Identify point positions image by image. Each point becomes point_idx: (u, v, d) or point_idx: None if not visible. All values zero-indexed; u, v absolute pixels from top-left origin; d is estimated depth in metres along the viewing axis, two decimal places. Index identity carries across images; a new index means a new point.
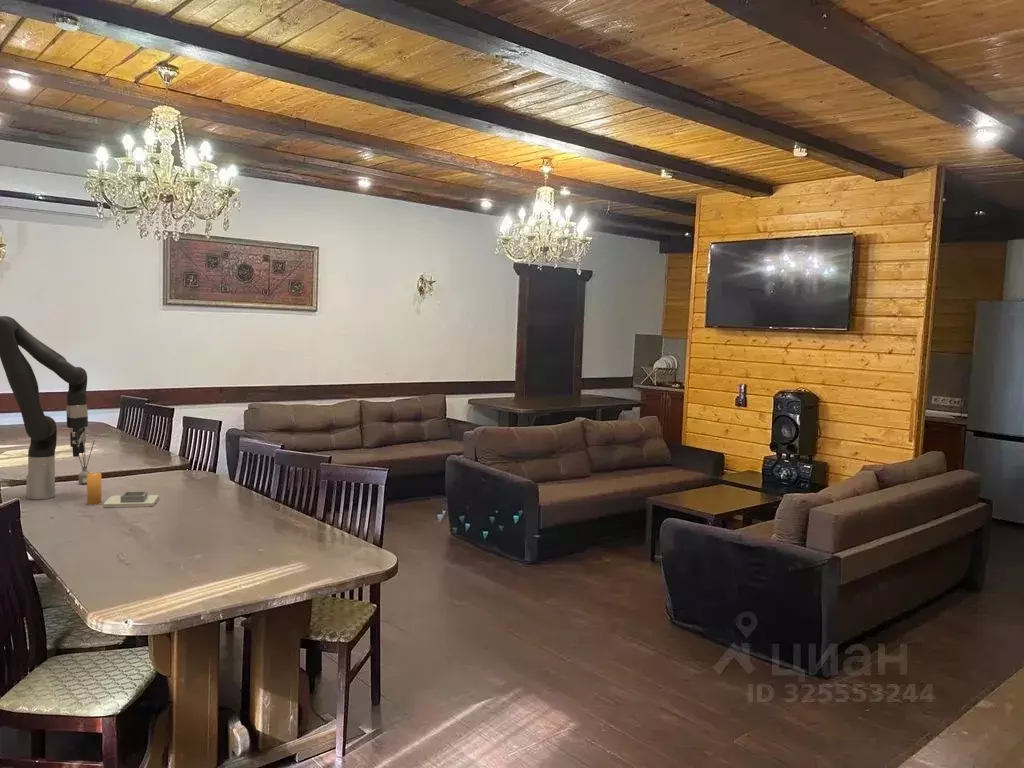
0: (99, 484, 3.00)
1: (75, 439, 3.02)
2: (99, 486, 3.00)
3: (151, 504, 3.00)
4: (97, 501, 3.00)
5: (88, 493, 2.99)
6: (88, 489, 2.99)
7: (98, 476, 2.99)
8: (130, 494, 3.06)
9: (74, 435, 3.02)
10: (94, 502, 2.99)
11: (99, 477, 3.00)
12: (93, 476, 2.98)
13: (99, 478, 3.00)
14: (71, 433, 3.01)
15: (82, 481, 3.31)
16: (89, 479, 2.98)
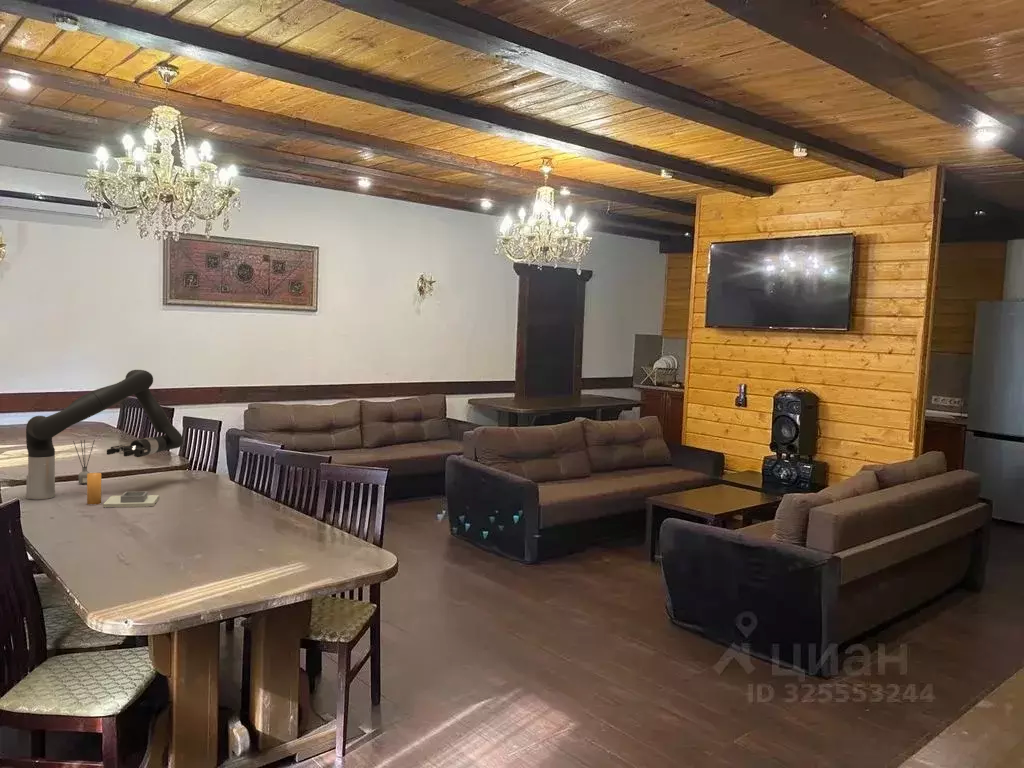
0: (99, 484, 3.00)
1: (143, 453, 3.16)
2: (99, 486, 3.00)
3: (151, 504, 3.00)
4: (97, 501, 3.00)
5: (88, 493, 2.99)
6: (88, 489, 2.99)
7: (98, 476, 2.99)
8: (130, 494, 3.06)
9: (145, 451, 3.18)
10: (94, 502, 2.99)
11: (99, 477, 3.00)
12: (93, 476, 2.98)
13: (99, 478, 3.00)
14: (146, 448, 3.18)
15: (82, 481, 3.31)
16: (89, 479, 2.98)
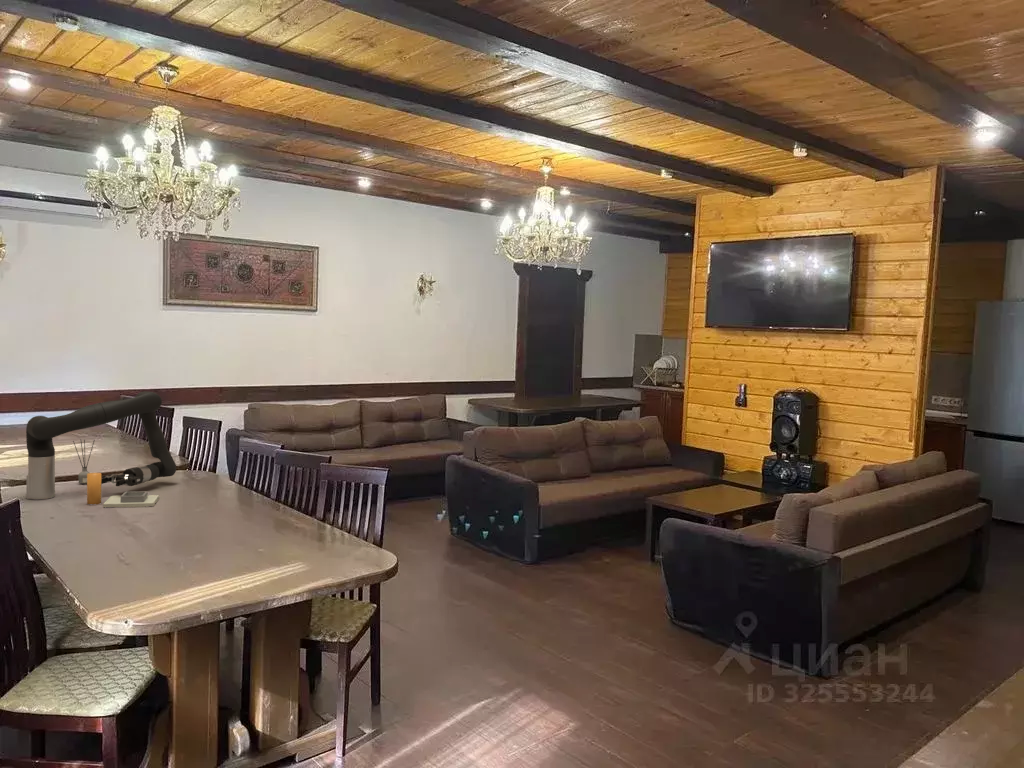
0: (99, 484, 3.00)
1: (135, 482, 3.13)
2: (99, 486, 3.00)
3: (151, 504, 3.00)
4: (97, 501, 3.00)
5: (88, 493, 2.99)
6: (88, 489, 2.99)
7: (98, 476, 2.99)
8: (130, 494, 3.06)
9: (138, 480, 3.15)
10: (94, 502, 2.99)
11: (99, 477, 3.00)
12: (93, 476, 2.98)
13: (99, 478, 3.00)
14: (139, 478, 3.15)
15: (82, 481, 3.31)
16: (89, 479, 2.98)
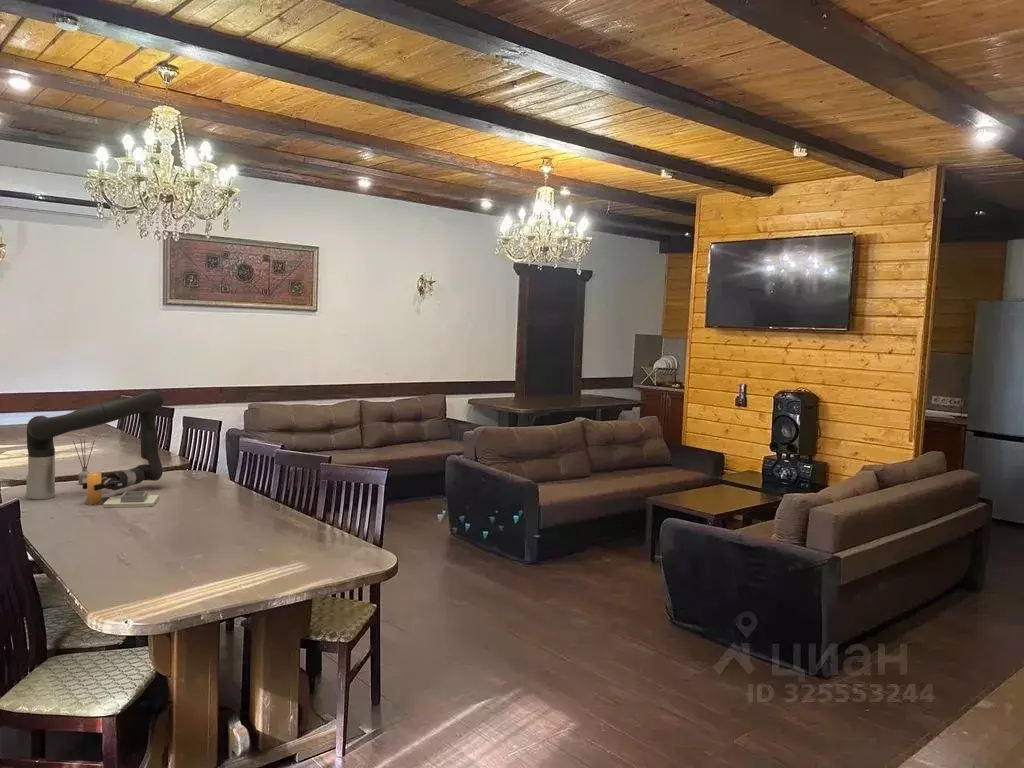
0: None
1: (115, 486, 3.04)
2: None
3: (151, 504, 3.00)
4: (97, 501, 3.00)
5: (88, 493, 2.99)
6: (88, 489, 2.99)
7: (98, 476, 2.99)
8: (130, 494, 3.06)
9: (119, 485, 3.05)
10: (94, 502, 2.99)
11: (99, 477, 3.00)
12: (93, 476, 2.98)
13: (99, 478, 3.00)
14: (121, 482, 3.06)
15: (82, 481, 3.31)
16: (89, 479, 2.98)
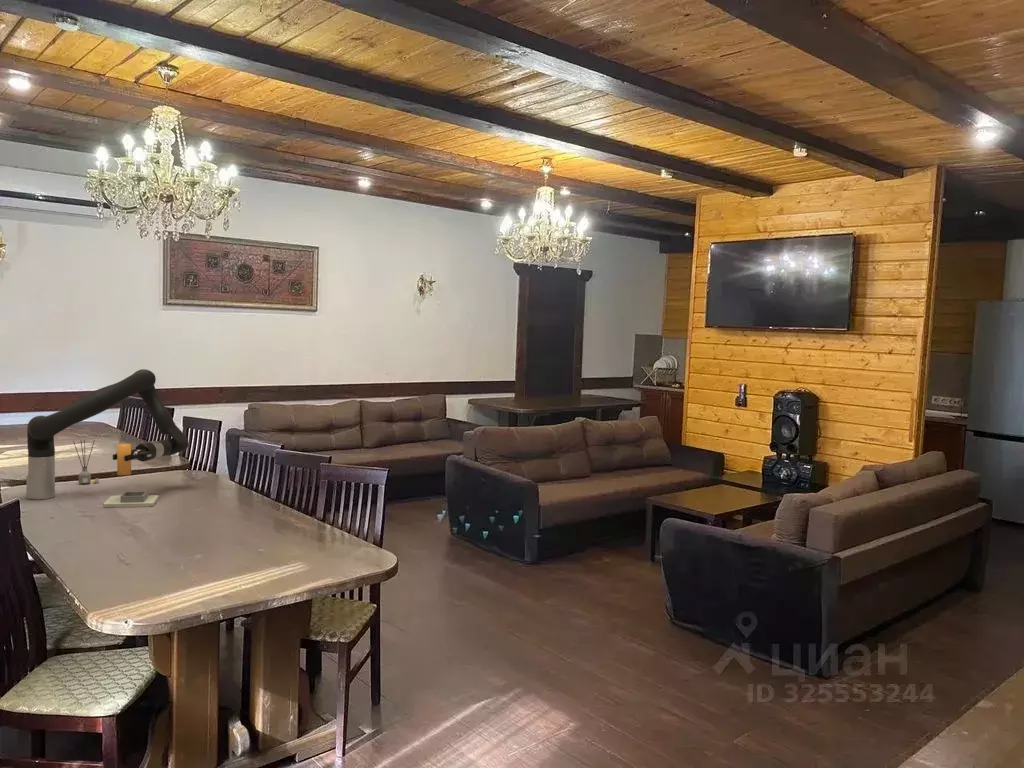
0: None
1: (145, 457, 3.05)
2: None
3: (151, 504, 3.00)
4: (127, 471, 3.01)
5: (118, 464, 3.00)
6: (118, 460, 3.00)
7: (128, 447, 3.01)
8: (130, 494, 3.06)
9: (148, 456, 3.06)
10: (124, 473, 3.00)
11: (129, 448, 3.01)
12: (123, 447, 2.99)
13: (129, 449, 3.01)
14: (150, 453, 3.07)
15: (82, 481, 3.31)
16: (119, 450, 2.99)
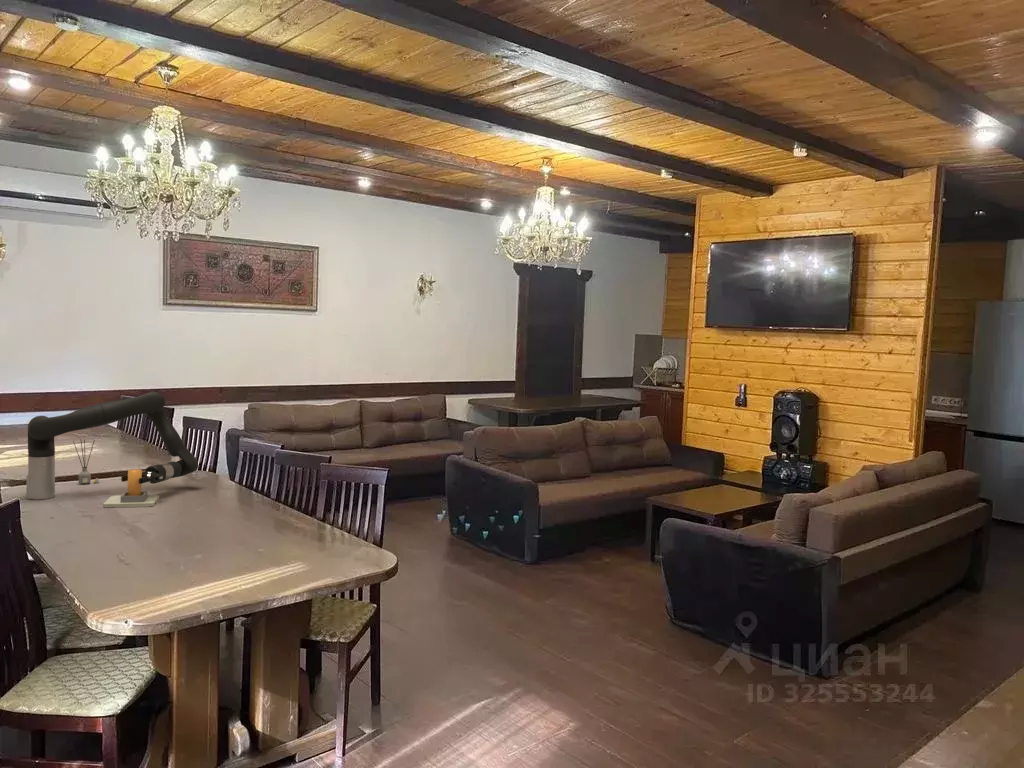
0: None
1: (158, 479, 3.06)
2: None
3: (151, 504, 3.00)
4: None
5: (129, 489, 3.01)
6: (129, 485, 3.01)
7: (139, 473, 3.02)
8: None
9: (161, 478, 3.08)
10: None
11: (140, 474, 3.02)
12: (134, 472, 3.01)
13: (140, 475, 3.03)
14: (162, 475, 3.09)
15: (82, 481, 3.31)
16: (130, 475, 3.01)
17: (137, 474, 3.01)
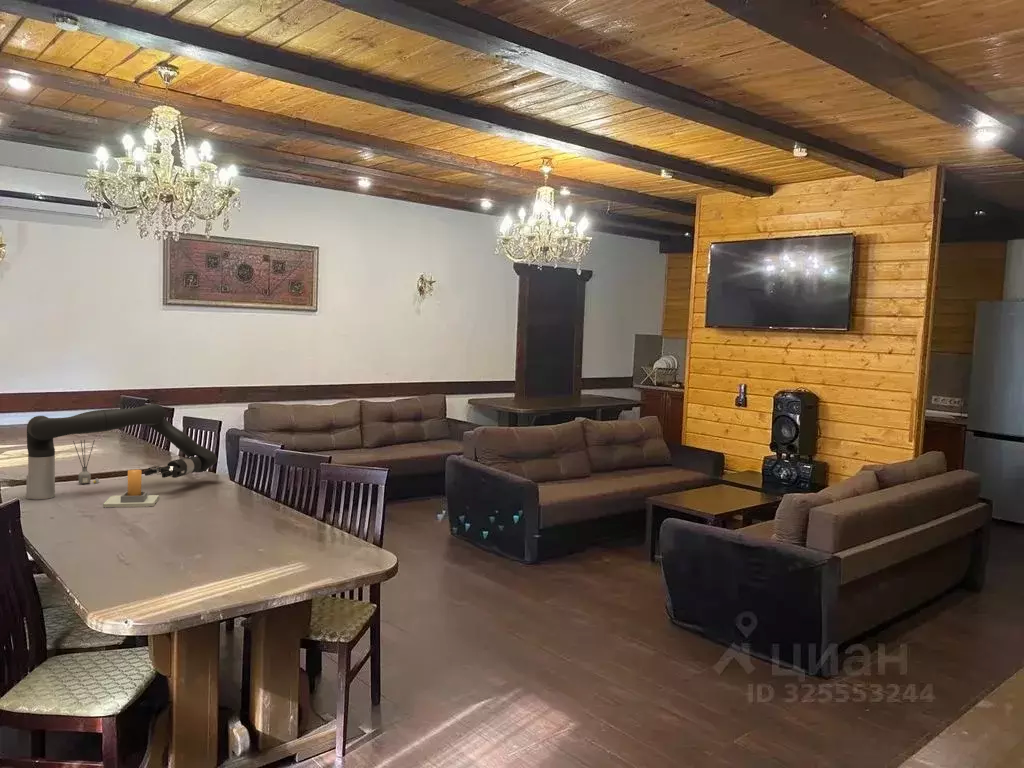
0: (139, 481, 3.02)
1: (180, 474, 3.19)
2: (139, 483, 3.03)
3: (151, 504, 3.00)
4: None
5: (129, 490, 3.01)
6: (129, 486, 3.01)
7: (139, 473, 3.02)
8: None
9: (182, 472, 3.20)
10: None
11: (139, 474, 3.02)
12: (134, 473, 3.00)
13: (139, 475, 3.02)
14: (183, 469, 3.21)
15: (82, 481, 3.31)
16: (130, 476, 3.00)
17: (137, 474, 3.01)
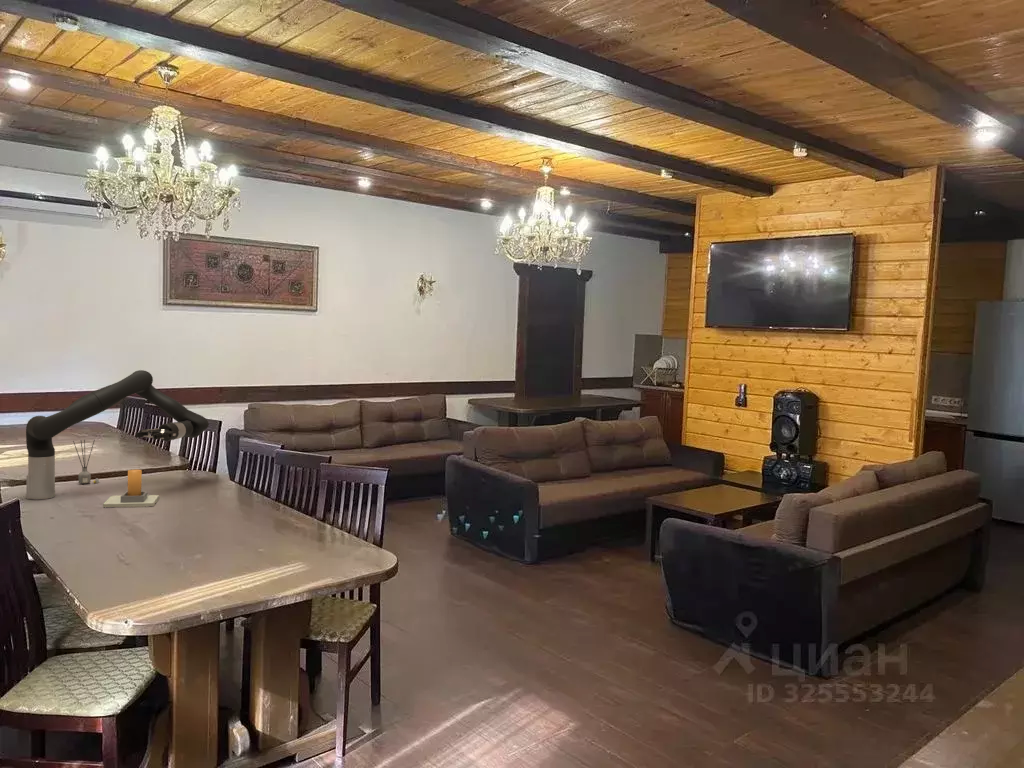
0: (139, 481, 3.02)
1: (171, 436, 3.18)
2: (139, 483, 3.03)
3: (151, 504, 3.00)
4: None
5: (129, 490, 3.01)
6: (129, 486, 3.01)
7: (139, 473, 3.02)
8: None
9: (174, 435, 3.19)
10: None
11: (140, 474, 3.02)
12: (134, 473, 3.00)
13: (140, 475, 3.02)
14: (175, 432, 3.20)
15: (82, 481, 3.31)
16: (130, 476, 3.00)
17: (137, 474, 3.01)
